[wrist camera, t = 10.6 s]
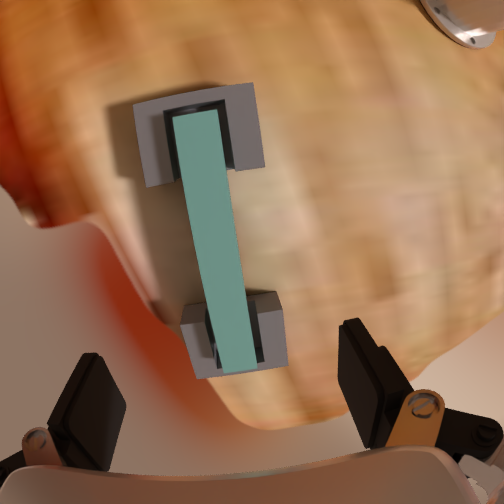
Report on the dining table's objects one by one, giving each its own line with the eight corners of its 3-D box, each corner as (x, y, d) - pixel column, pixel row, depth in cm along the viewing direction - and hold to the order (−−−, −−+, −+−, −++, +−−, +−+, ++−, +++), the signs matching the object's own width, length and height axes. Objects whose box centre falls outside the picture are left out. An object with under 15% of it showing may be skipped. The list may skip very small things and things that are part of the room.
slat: (181, 121, 23) (172, 117, 19) (218, 115, 23) (216, 109, 19) (223, 343, 30) (223, 373, 26) (253, 339, 30) (257, 368, 26)
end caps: (143, 109, 23) (132, 104, 20) (249, 90, 24) (253, 82, 20) (198, 357, 32) (197, 379, 29) (282, 344, 32) (288, 365, 29)
